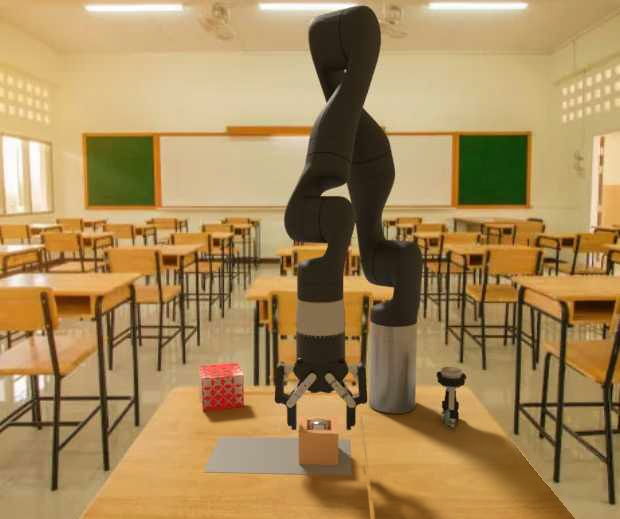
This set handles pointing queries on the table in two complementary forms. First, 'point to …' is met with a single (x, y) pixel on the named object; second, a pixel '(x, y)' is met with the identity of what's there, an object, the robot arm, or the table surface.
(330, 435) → the collar
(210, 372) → the red white patterned cube
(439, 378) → the push button
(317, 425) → the steel post
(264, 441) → the base plate
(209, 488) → the table surface
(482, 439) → the table surface
